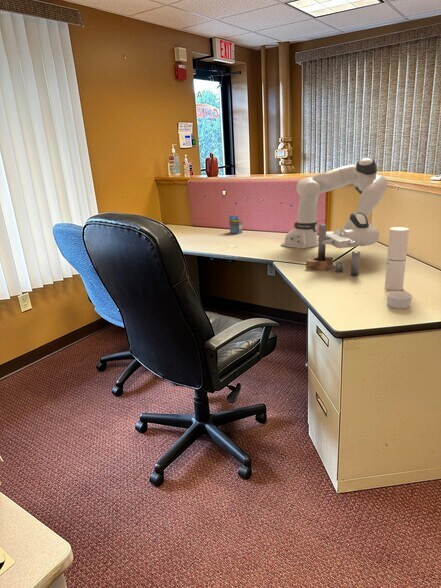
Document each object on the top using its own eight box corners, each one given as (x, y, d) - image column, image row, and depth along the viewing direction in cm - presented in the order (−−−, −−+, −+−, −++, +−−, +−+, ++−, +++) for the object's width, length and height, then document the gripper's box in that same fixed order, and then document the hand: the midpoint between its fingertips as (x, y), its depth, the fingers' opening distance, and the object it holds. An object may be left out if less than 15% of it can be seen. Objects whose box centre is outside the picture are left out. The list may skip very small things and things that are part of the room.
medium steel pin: (349, 275, 193) (351, 252, 189) (351, 273, 196) (353, 250, 192) (357, 276, 191) (358, 253, 188) (359, 274, 194) (360, 251, 190)
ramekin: (385, 308, 155) (386, 297, 153) (385, 300, 162) (386, 289, 161) (411, 310, 152) (413, 299, 150) (410, 302, 159) (411, 291, 158)
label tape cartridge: (242, 232, 297) (241, 215, 293) (239, 233, 295) (238, 216, 290) (233, 231, 303) (232, 214, 299) (229, 232, 300) (228, 215, 296)
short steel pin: (334, 272, 199) (335, 263, 198) (336, 270, 202) (337, 261, 201) (341, 272, 198) (342, 263, 196) (343, 270, 201) (344, 262, 199)
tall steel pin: (317, 261, 207) (317, 225, 200) (319, 259, 210) (320, 223, 203) (323, 261, 205) (325, 225, 199) (326, 259, 208) (327, 224, 202)
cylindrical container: (394, 291, 171) (400, 231, 162) (380, 286, 177) (385, 228, 168) (406, 287, 174) (413, 228, 165) (392, 283, 180) (398, 226, 171)
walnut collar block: (306, 268, 207) (306, 260, 206) (313, 263, 215) (313, 255, 214) (326, 270, 202) (327, 263, 200) (333, 265, 210) (333, 257, 209)
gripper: (356, 249, 197) (328, 252, 195) (337, 240, 216) (312, 242, 214) (357, 236, 195) (329, 239, 193) (338, 228, 214) (312, 230, 212)
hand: (320, 241), depth 204 cm, fingers closed on tall steel pin, 3 cm apart
